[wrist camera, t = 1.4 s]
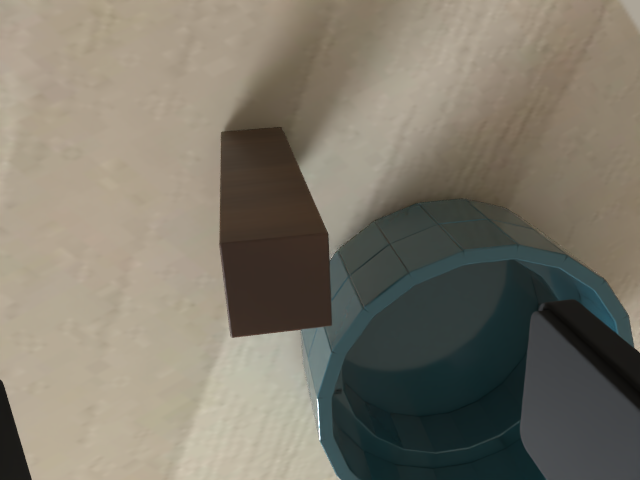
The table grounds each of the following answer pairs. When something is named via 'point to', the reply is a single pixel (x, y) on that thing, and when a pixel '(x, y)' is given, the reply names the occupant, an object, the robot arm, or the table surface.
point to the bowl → (438, 342)
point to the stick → (270, 238)
